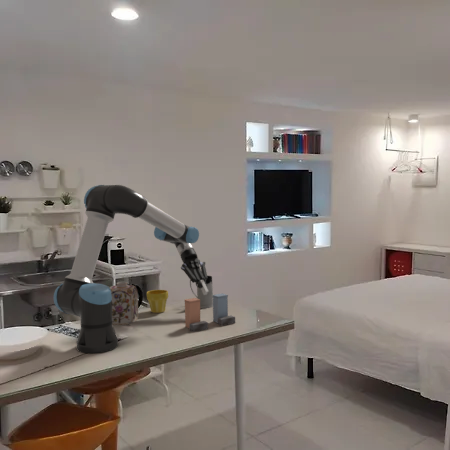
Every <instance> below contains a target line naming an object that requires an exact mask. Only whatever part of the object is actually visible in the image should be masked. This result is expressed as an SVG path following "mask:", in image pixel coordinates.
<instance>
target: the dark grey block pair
mask: <svg viewBox="0 0 450 450" xmlns="http://www.w3.org/2000/svg"><path fill="white" fill-rule="evenodd" d="M208 324H209V323H208V322H207V321H205V320H200V322H196V323H191V324H189V326H190V329H189V331H190V332H194V333H195V332H199V331H204V330H208V329H209V327H208V326H209V325H208ZM232 324H236V316H234V315H228V316H226V317H221V318H218V323H217V325H219V326H222V327H223V326H227V325H232Z"/></svg>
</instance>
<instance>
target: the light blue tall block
mask: <svg viewBox="0 0 450 450" xmlns="http://www.w3.org/2000/svg"><path fill="white" fill-rule="evenodd" d="M228 297H229V294H227V293H226V294H225V293H216V294H213V307H212V314H213V316H212V319H213V322H215V323H216V324H218V318H221V317H226V316H229V315H228V314H229V313H228V312H229V309H228V308H229V307H228V306H229V305H228Z"/></svg>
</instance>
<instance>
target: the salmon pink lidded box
mask: <svg viewBox="0 0 450 450" xmlns="http://www.w3.org/2000/svg"><path fill="white" fill-rule="evenodd" d="M184 311H185V312H184V318H185V319H184V321H185V324H184V325H185V328H187V329H188V330H190V326H189V324H191V323H196V322H201V308H200V299H197V298H196V297H191V298H186V299H184Z"/></svg>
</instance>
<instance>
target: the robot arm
mask: <svg viewBox="0 0 450 450" xmlns="http://www.w3.org/2000/svg"><path fill="white" fill-rule="evenodd" d="M83 197H84V198H83V203H84V207H85V212H84V214H85V215H86V217H87V219H86V222H85V225H84V228H83V232H82V235H81V238H80V242H79V245H78V248H77V251H76V255H75V257H74V260H73V263H72V268H71V270H70V273H69V274H68V275H66V276H65V277H64V280H63V283H61V284H59V285H58V286H57V287H56V288H55V290H54V293H53V303H54V305H55V308H56V309H58V310H59V311H60V312H62V313H64V314H67V315H72V316H75V317H78V318H79V317H80V330H79V333H78V337H77V340H76V350H77V349H78V350H79V351H78V350H77V351H78V352H80V351H81V353H83V352H84V353H85V354H99V353H105V352H109V351H112V350H114V349H116V348H117V347H118V345H119V343H118V342H119V341H118V340H119V339H118V337H117V334H116V332H115V328H114V325H112V295H111V289H110V287H109V286H108V285H106V284H103V283H95V282H93V276H94V274H95V270H96V267H97V263H98V261H99V255H100V252H101V249H102V246H103V243H104V239H105V236H106V233H107V229H108V225H109V224H110V223H112V222H114V219H115V216H116V214H121V215H122V214H123V215H127V216H130V217H132V218H134V219H136V218H137V219H140V220H143V222H146V223H148V224H150V225H151V226H153V227H155V228H154V230H153V235H154V237H155V239H157V240H160V241H163V242H166V243H170V244H173V245H174V246H175V248H176V250H177V252H178V254H179V257H180V259H181V262H182V264H181V267H180V269H181V270H182V272H184V273H185V275H186V276H187V277H188V279H189V281H190V280H191V283H192V284H194V283H195V285H196V284H197V285H198V287H199V288H201V290H202V292H203V294H204V295H207V293H208V292H209V291H208V289H207V284H206V282H205V281H206V279H207V278H208V277H207V276H208V272H207V269H206V261H201V260H200V259H199V257H198V254H197V252H196V250H195V247H194V246H193V244H195V243H196V242H198V241H199V239H200V232H199V229H198V228H197V227H195V226H188V225H186V224H185V223H183V222H181V221H179V220H178V219H177V218H175V217H173V216H171V215H170V214H169V213H167V212H165V211H163V210H162V209H161V208H159V207H157V206H156V205H154V204H152V203H151V202H149V201H148V198H146V197H145V196H144V195H143V194H141V193H139V192H137V191H135V190H134V189H132V188H129V187H127V186H125V185H122V184H108V185H105V184H98V185H94V186H92V187H90V188H88V190H87V191H86V192H85V195H84V196H83Z"/></svg>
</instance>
